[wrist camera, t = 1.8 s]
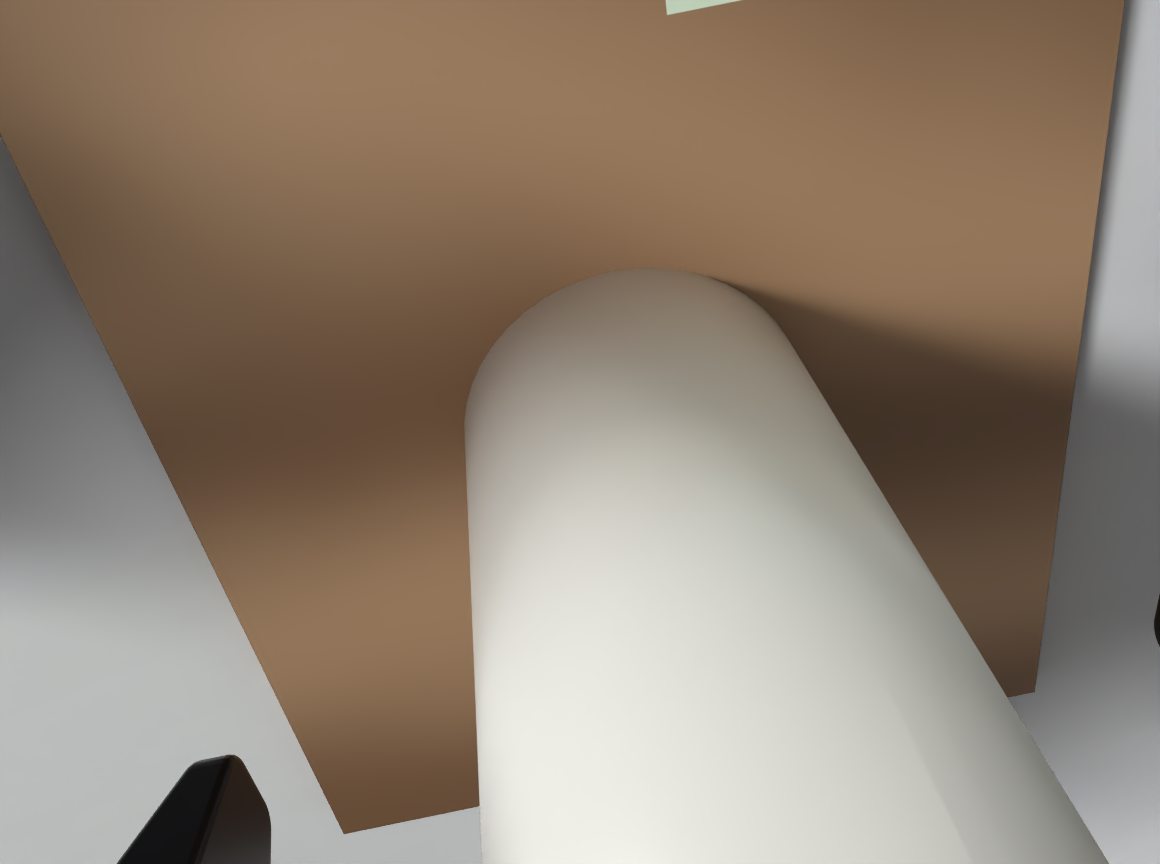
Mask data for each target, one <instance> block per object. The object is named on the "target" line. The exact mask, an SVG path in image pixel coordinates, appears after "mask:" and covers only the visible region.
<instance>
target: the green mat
mask: <svg viewBox="0 0 1160 864" xmlns="http://www.w3.org/2000/svg"><path fill="white" fill-rule="evenodd" d="M735 1H740V0H666V9H667V15H670V14H675V13H680V12H685V11H690V10H695V9H700V8H705V7H710V6H715V5H720V4H725V3H730V2H735Z"/></svg>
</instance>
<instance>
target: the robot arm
mask: <svg viewBox="0 0 1160 864" xmlns="http://www.w3.org/2000/svg"><path fill="white" fill-rule="evenodd" d="M1154 630H1155V635H1156V639H1157V641H1158V644H1159V646H1160V595H1159V600H1158V605H1157V609H1156V614H1155V619H1154ZM117 864H271V822H270V816H269V812H268V808H267V806H266V803H265V801H264V800H263V798H262V796H261V794H260V792H259V790H258V789H257V787H256V785H255V783H254V781H253V779H252V778H251V776H250V774H249V772H248V770H247V768H246V766H245V765H244V763H243V762H242V760H241V759H240V758H239V757H237V756H236V755H225V756H220V757H215V758H210V759H205V760H201V761H197V762H195V763H193V764H192V765H191V766H190V767H189V768H188V769H187V770H186V771H185V772H184V774H183V775H182V776H181V778H180V779H179V780H178V782H177V783H176V784H175V786H174V787H173V788H172V790H171V791H170V793H169V794H168V795H167V797H166V798H165V799H164V801H163V802H162V803H161V805H160V806H159V807H158V809H157V810H156V811H155V813H154V814H153V815H152V817H151V818H150V819H149V821H148V822H147V824H146V825H145V826H144V828H143V829H142V830H141V832H140V833H139V834H138V836H137V837H136V838H135V840H134V841H133V842H132V844H131V845H130V846H129V848H128V849H127V850H126V852H125V853H124V854H123V856H122V857H121V859H120V860H119V861H118V863H117Z"/></svg>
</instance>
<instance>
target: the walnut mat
mask: <svg viewBox="0 0 1160 864" xmlns="http://www.w3.org/2000/svg"><path fill="white" fill-rule="evenodd" d="M1124 2H1125V0H740V1H735V2H730V3H725V4H720V5H715V6H710V7H705V8H700V9H695V10H690V11H685V12H680V13H675V14H670V15H667V9H666V0H0V135H1V137H2V139H3V141H4V143H5V145H6V147H7V149H8V151H9V153H10V155H11V157H12V159H13V161H14V163H15V165H16V167H17V169H18V171H19V173H20V175H21V177H22V179H23V181H24V183H25V185H26V188H27V190H28V192H29V194H30V196H31V198H32V200H33V202H34V204H35V206H36V208H37V210H38V212H39V214H40V216H41V218H42V220H43V222H44V224H45V226H46V228H47V230H48V232H49V234H50V236H51V238H52V240H53V243H54V245H55V247H56V249H57V251H58V253H59V255H60V257H61V259H62V261H63V263H64V265H65V267H66V269H67V271H68V273H69V275H70V277H71V279H72V281H73V283H74V285H75V287H76V289H77V291H78V293H79V295H80V298H81V300H82V302H83V304H84V306H85V308H86V310H87V312H88V314H89V316H90V318H91V320H92V322H93V324H94V326H95V328H96V330H97V332H98V334H99V336H100V338H101V340H102V342H103V344H104V346H105V348H106V350H107V352H108V355H109V357H110V359H111V361H112V363H113V365H114V367H115V369H116V371H117V373H118V375H119V377H120V379H121V381H122V383H123V385H124V387H125V389H126V391H127V393H128V395H129V397H130V399H131V401H132V403H133V405H134V407H135V410H136V412H137V414H138V416H139V418H140V420H141V422H142V424H143V426H144V428H145V430H146V432H147V434H148V436H149V438H150V440H151V442H152V444H153V446H154V448H155V450H156V452H157V454H158V456H159V458H160V460H161V462H162V465H163V467H164V469H165V471H166V473H167V475H168V477H169V479H170V481H171V483H172V485H173V487H174V489H175V491H176V493H177V495H178V497H179V499H180V501H181V503H182V505H183V507H184V509H185V511H186V513H187V515H188V517H189V520H190V522H191V524H192V526H193V528H194V530H195V532H196V534H197V536H198V538H199V540H200V542H201V544H202V546H203V548H204V550H205V552H206V554H207V556H208V558H209V560H210V562H211V564H212V566H213V568H214V570H215V572H216V574H217V577H218V579H219V581H220V583H221V585H222V587H223V589H224V591H225V593H226V595H227V597H228V599H229V601H230V603H231V605H232V607H233V609H234V611H235V613H236V615H237V617H238V619H239V621H240V623H241V625H242V627H243V629H244V632H245V634H246V636H247V638H248V640H249V642H250V644H251V646H252V648H253V650H254V652H255V654H256V656H257V658H258V660H259V662H260V664H261V666H262V668H263V670H264V672H265V674H266V676H267V678H268V680H269V682H270V684H271V687H272V689H273V691H274V693H275V695H276V697H277V699H278V701H279V703H280V705H281V707H282V709H283V711H284V713H285V715H286V717H287V719H288V721H289V723H290V725H291V727H292V729H293V731H294V733H295V735H296V737H297V739H298V742H299V744H300V746H301V748H302V750H303V752H304V754H305V756H306V758H307V760H308V762H309V764H310V766H311V768H312V770H313V772H314V774H315V776H316V778H317V780H318V782H319V784H320V786H321V788H322V790H323V792H324V794H325V796H326V799H327V801H328V803H329V805H330V807H331V809H332V811H333V813H334V815H335V817H336V819H337V821H338V823H339V825H340V827H341V829H342V831H343V833H344V834H347V833H351V832H356V831H361V830H366V829H371V828H376V827H381V826H385V825H390V824H395V823H400V822H405V821H410V820H415V819H419V818H424V817H429V816H434V815H439V814H444V813H449V812H453V811H458V810H463V809H468V808H473V807H478V806H480V802H479V777H478V752H477V727H476V703H475V678H474V653H473V628H472V604H471V579H470V554H469V529H468V505H467V480H466V455H465V429H464V421H465V413H466V405H467V400H468V397H469V393H470V390H471V386H472V383H473V381H474V379H475V376H476V374H477V372H478V370H479V367H480V365H481V363H482V362H483V360H484V359H485V357H486V355H487V354H488V352H489V351H490V349H491V347H492V346H493V345H494V343H495V342H496V341H497V340H498V339H499V337H500V336H501V335H502V334H503V333H504V331H505V330H506V329H507V328H508V327H509V326H510V325H511V324H512V323H514V322H515V321H516V320H517V319H518V318H519V317H520V316H521V315H522V314H523V313H525V312H526V311H527V310H529V309H530V308H532V307H533V306H534V305H536V304H537V303H539V302H540V301H541V300H543V299H544V298H546V297H548V296H550V295H552V294H554V293H555V292H557V291H559V290H561V289H563V288H565V287H567V286H570V285H572V284H575V283H577V282H580V281H582V280H585V279H587V278H591V277H595V276H598V275H602V274H606V273H610V272H615V271H622V270H630V269H643V268H663V269H672V270H682V271H687V272H691V273H695V274H699V275H704V276H707V277H710V278H712V279H715V280H717V281H720V282H723V283H725V284H727V285H729V286H731V287H733V288H735V289H736V290H738V291H740V292H742V293H744V294H745V295H747V296H748V297H749V298H751V299H752V300H753V301H755V302H756V303H757V304H758V305H760V306H761V307H762V308H763V309H764V310H765V311H766V312H767V313H768V314H769V315H770V316H771V317H772V318H773V319H774V320H775V321H776V322H777V324H778V325H779V327H780V328H781V330H782V331H783V333H784V334H785V335H786V337H787V338H788V340H789V342H790V343H791V345H792V347H793V348H794V350H795V351H796V353H797V355H798V356H799V358H800V360H801V361H802V363H803V364H804V366H805V368H806V369H807V371H808V373H809V374H810V376H811V378H812V379H813V381H814V382H815V384H816V386H817V387H818V389H819V391H820V392H821V394H822V396H823V397H824V399H825V400H826V402H827V404H828V405H829V407H830V409H831V410H832V412H833V414H834V415H835V417H836V418H837V420H838V422H839V423H840V425H841V427H842V428H843V430H844V431H845V433H846V435H847V436H848V438H849V440H850V441H851V443H852V445H853V446H854V448H855V449H856V451H857V453H858V454H859V456H860V458H861V459H862V461H863V463H864V464H865V466H866V467H867V469H868V471H869V472H870V474H871V476H872V477H873V479H874V480H875V482H876V484H877V485H878V487H879V489H880V490H881V492H882V494H883V495H884V497H885V498H886V500H887V502H888V503H889V505H890V507H891V508H892V510H893V512H894V513H895V515H896V516H897V518H898V520H899V521H900V523H901V525H902V526H903V528H904V530H905V531H906V533H907V534H908V536H909V538H910V539H911V541H912V543H913V544H914V546H915V547H916V549H917V551H918V552H919V554H920V556H921V557H922V559H923V561H924V562H925V564H926V565H927V567H928V569H929V570H930V572H931V574H932V575H933V577H934V579H935V580H936V582H937V583H938V585H939V587H940V588H941V590H942V592H943V593H944V595H945V597H946V598H947V600H948V601H949V603H950V605H951V606H952V608H953V610H954V611H955V613H956V614H957V616H958V618H959V619H960V621H961V623H962V624H963V626H964V628H965V629H966V631H967V632H968V634H969V636H970V637H971V639H972V641H973V642H974V644H975V646H976V647H977V649H978V650H979V652H980V654H981V655H982V657H983V659H984V660H985V662H986V664H987V665H988V667H989V668H990V670H991V672H992V673H993V675H994V677H995V678H996V680H997V681H998V683H999V685H1000V686H1001V688H1002V690H1003V691H1004V693H1005V695H1006V696H1007V697H1012V696H1017V695H1021V694H1026V693H1031V692H1035V685H1036V678H1037V670H1038V662H1039V655H1040V647H1041V639H1042V632H1043V624H1044V616H1045V609H1046V601H1047V593H1048V586H1049V578H1050V570H1051V563H1052V555H1053V547H1054V539H1055V532H1056V524H1057V516H1058V509H1059V501H1060V493H1061V486H1062V478H1063V470H1064V463H1065V455H1066V447H1067V440H1068V432H1069V424H1070V417H1071V409H1072V401H1073V394H1074V386H1075V378H1076V371H1077V363H1078V355H1079V348H1080V340H1081V332H1082V325H1083V317H1084V309H1085V302H1086V294H1087V286H1088V279H1089V271H1090V263H1091V256H1092V248H1093V240H1094V233H1095V225H1096V217H1097V210H1098V202H1099V194H1100V187H1101V179H1102V171H1103V163H1104V156H1105V148H1106V140H1107V133H1108V125H1109V117H1110V110H1111V102H1112V94H1113V87H1114V79H1115V71H1116V64H1117V56H1118V48H1119V41H1120V33H1121V25H1122V18H1123V10H1124Z"/></svg>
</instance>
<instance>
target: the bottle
mask: <svg viewBox="0 0 1160 864" xmlns="http://www.w3.org/2000/svg"><path fill="white" fill-rule="evenodd" d="M464 429H465V455H466V480H467V505H468V529H469V554H470V579H471V604H472V628H473V653H474V678H475V703H476V727H477V752H478V777H479V802H480V826H481V851H482V864H1109V863H1108V861H1107V860H1106V858H1105V856H1104V855H1103V853H1102V851H1101V850H1100V848H1099V847H1098V845H1097V843H1096V842H1095V840H1094V838H1093V837H1092V835H1091V833H1090V832H1089V830H1088V829H1087V827H1086V825H1085V824H1084V822H1083V820H1082V819H1081V817H1080V815H1079V814H1078V812H1077V811H1076V809H1075V807H1074V806H1073V804H1072V802H1071V801H1070V799H1069V797H1068V796H1067V794H1066V793H1065V791H1064V789H1063V788H1062V786H1061V784H1060V783H1059V781H1058V780H1057V778H1056V776H1055V775H1054V773H1053V771H1052V770H1051V768H1050V766H1049V765H1048V763H1047V762H1046V760H1045V758H1044V757H1043V755H1042V753H1041V752H1040V750H1039V748H1038V747H1037V745H1036V744H1035V742H1034V740H1033V739H1032V737H1031V735H1030V734H1029V732H1028V731H1027V729H1026V727H1025V726H1024V724H1023V722H1022V721H1021V719H1020V717H1019V716H1018V714H1017V713H1016V711H1015V709H1014V708H1013V706H1012V704H1011V703H1010V701H1009V699H1008V698H1007V696H1006V695H1005V693H1004V691H1003V690H1002V688H1001V686H1000V685H999V683H998V681H997V680H996V678H995V677H994V675H993V673H992V672H991V670H990V668H989V667H988V665H987V664H986V662H985V660H984V659H983V657H982V655H981V654H980V652H979V650H978V649H977V647H976V646H975V644H974V642H973V641H972V639H971V637H970V636H969V634H968V632H967V631H966V629H965V628H964V626H963V624H962V623H961V621H960V619H959V618H958V616H957V614H956V613H955V611H954V610H953V608H952V606H951V605H950V603H949V601H948V600H947V598H946V597H945V595H944V593H943V592H942V590H941V588H940V587H939V585H938V583H937V582H936V580H935V579H934V577H933V575H932V574H931V572H930V570H929V569H928V567H927V565H926V564H925V562H924V561H923V559H922V557H921V556H920V554H919V552H918V551H917V549H916V547H915V546H914V544H913V543H912V541H911V539H910V538H909V536H908V534H907V533H906V531H905V530H904V528H903V526H902V525H901V523H900V521H899V520H898V518H897V516H896V515H895V513H894V512H893V510H892V508H891V507H890V505H889V503H888V502H887V500H886V498H885V497H884V495H883V494H882V492H881V490H880V489H879V487H878V485H877V484H876V482H875V480H874V479H873V477H872V476H871V474H870V472H869V471H868V469H867V467H866V466H865V464H864V463H863V461H862V459H861V458H860V456H859V454H858V453H857V451H856V449H855V448H854V446H853V445H852V443H851V441H850V440H849V438H848V436H847V435H846V433H845V431H844V430H843V428H842V427H841V425H840V423H839V422H838V420H837V418H836V417H835V415H834V414H833V412H832V410H831V409H830V407H829V405H828V404H827V402H826V400H825V399H824V397H823V396H822V394H821V392H820V391H819V389H818V387H817V386H816V384H815V382H814V381H813V379H812V378H811V376H810V374H809V373H808V371H807V369H806V368H805V366H804V364H803V363H802V361H801V360H800V358H799V356H798V355H797V353H796V351H795V350H794V348H793V347H792V345H791V343H790V342H789V340H788V338H787V337H786V335H785V334H784V333H783V331H782V330H781V328H780V327H779V325H778V324H777V322H776V321H775V320H774V319H773V318H772V317H771V316H770V315H769V314H768V313H767V312H766V311H765V310H764V309H763V308H762V307H761V306H760V305H758V304H757V303H756V302H755V301H753V300H752V299H751V298H749V297H748V296H747V295H745V294H744V293H742V292H740V291H738V290H736V289H735V288H733V287H731V286H729V285H727V284H725V283H723V282H720V281H717V280H715V279H712V278H710V277H707V276H704V275H699V274H695V273H691V272H687V271H682V270H672V269H663V268H643V269H630V270H622V271H615V272H610V273H606V274H602V275H598V276H595V277H591V278H587V279H585V280H582V281H580V282H577V283H575V284H572V285H570V286H567V287H565V288H563V289H561V290H559V291H557V292H555V293H554V294H552V295H550V296H548V297H546V298H544V299H543V300H541V301H540V302H539V303H537V304H536V305H534V306H533V307H532V308H530V309H529V310H527V311H526V312H525V313H523V314H522V315H521V316H520V317H519V318H518V319H517V320H516V321H515V322H514V323H512V324H511V325H510V326H509V327H508V328H507V329H506V330H505V331H504V333H503V334H502V335H501V336H500V337H499V339H498V340H497V341H496V342H495V343H494V345H493V346H492V347H491V349H490V351H489V352H488V354H487V355H486V357H485V359H484V360H483V362H482V363H481V365H480V367H479V370H478V372H477V374H476V376H475V379H474V381H473V383H472V386H471V390H470V393H469V397H468V400H467V405H466V413H465V421H464Z"/></svg>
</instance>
